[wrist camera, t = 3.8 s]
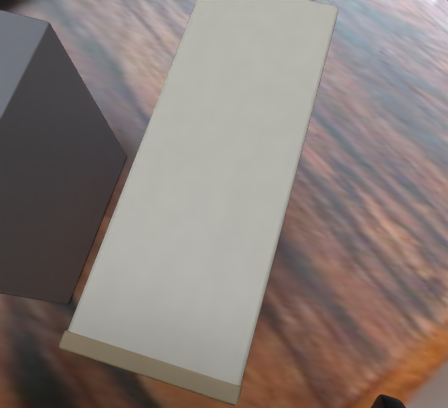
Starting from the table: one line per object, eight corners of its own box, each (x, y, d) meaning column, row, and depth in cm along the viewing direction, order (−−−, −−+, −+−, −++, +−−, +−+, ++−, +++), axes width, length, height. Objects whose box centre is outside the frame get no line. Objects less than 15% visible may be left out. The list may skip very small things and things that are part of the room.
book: (229, 356, 19) (236, 406, 6) (167, 336, 19) (56, 347, 7) (273, 197, 21) (341, 5, 9) (217, 181, 21) (204, -27, 9)
